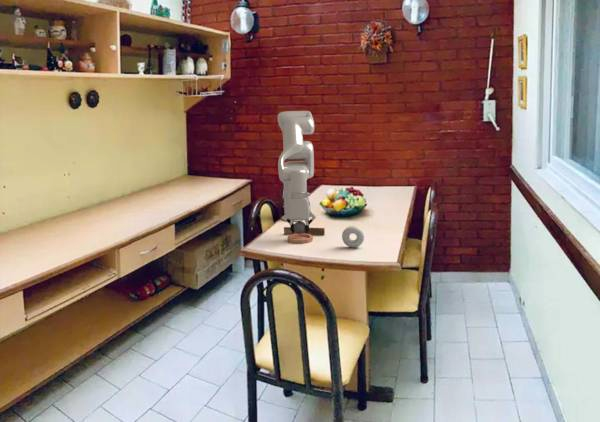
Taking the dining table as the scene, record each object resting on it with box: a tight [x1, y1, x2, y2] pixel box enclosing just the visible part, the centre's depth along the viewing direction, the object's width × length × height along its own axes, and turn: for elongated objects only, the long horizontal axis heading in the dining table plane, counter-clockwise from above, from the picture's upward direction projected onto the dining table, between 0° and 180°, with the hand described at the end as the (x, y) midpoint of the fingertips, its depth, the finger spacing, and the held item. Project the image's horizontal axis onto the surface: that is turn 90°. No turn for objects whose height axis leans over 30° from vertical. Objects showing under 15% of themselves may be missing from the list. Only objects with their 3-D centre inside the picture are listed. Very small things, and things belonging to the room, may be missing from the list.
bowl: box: [287, 233, 314, 245], centre depth 263 cm, size 12×12×2 cm
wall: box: [283, 226, 326, 237], centre depth 273 cm, size 1×20×4 cm, turn 79°
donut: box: [341, 225, 365, 248], centre depth 249 cm, size 10×3×10 cm, turn 76°
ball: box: [293, 220, 306, 234], centre depth 262 cm, size 6×6×6 cm
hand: (300, 232), depth 262 cm, fingers closed on ball, 5 cm apart
